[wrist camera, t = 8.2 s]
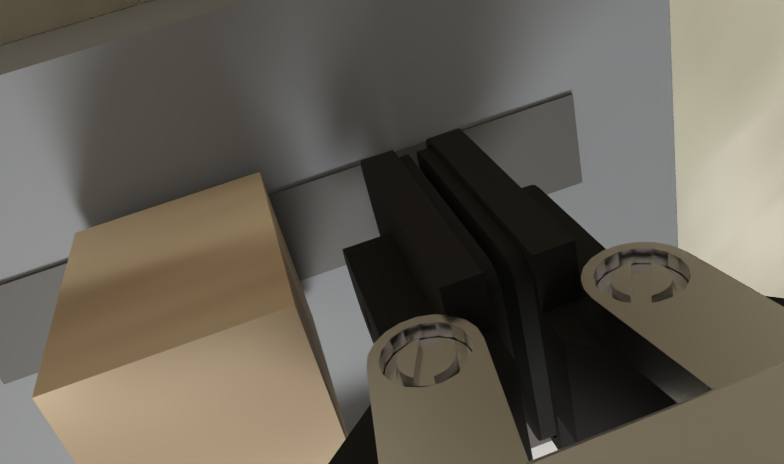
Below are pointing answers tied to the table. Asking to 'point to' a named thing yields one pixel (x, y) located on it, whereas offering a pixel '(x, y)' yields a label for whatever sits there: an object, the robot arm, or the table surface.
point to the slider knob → (188, 341)
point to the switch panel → (315, 139)
